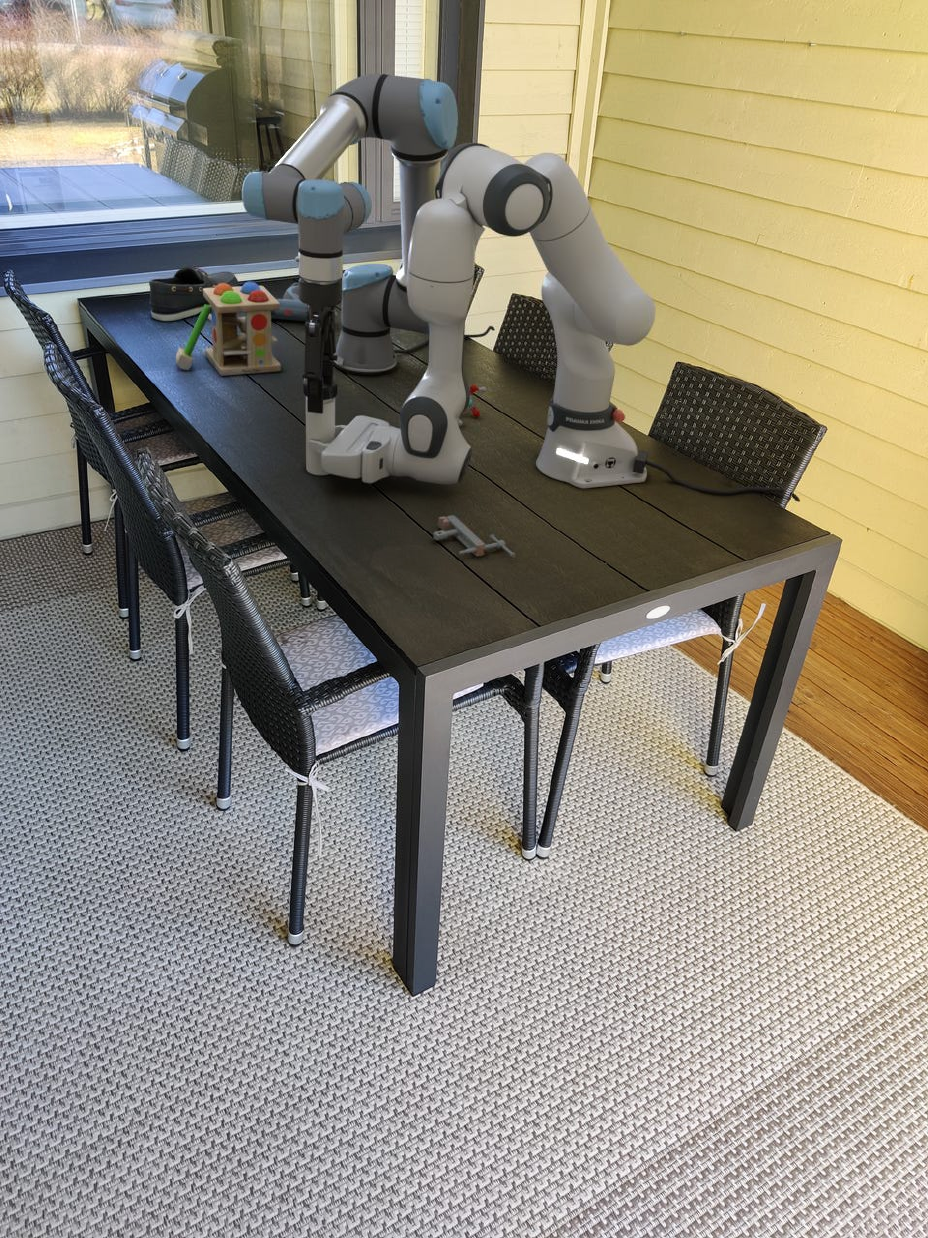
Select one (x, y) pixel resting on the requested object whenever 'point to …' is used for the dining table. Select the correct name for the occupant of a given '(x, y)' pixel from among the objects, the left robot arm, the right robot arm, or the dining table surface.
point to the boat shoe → (184, 292)
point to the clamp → (466, 537)
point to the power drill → (292, 306)
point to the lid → (325, 388)
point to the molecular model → (475, 412)
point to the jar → (319, 434)
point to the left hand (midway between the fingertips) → (320, 403)
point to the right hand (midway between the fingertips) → (315, 436)
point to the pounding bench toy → (229, 347)
